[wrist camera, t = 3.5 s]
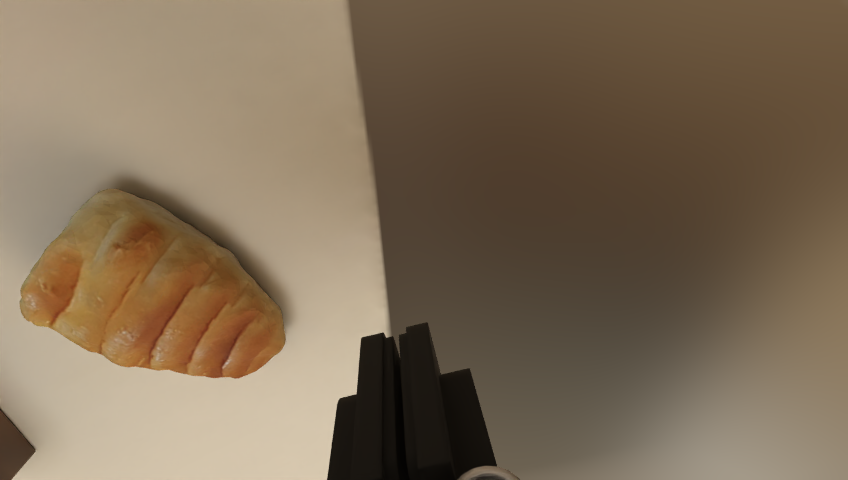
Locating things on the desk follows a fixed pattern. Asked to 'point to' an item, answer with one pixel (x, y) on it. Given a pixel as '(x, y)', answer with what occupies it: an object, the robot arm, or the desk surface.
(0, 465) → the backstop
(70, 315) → the pastry
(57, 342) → the desk surface
